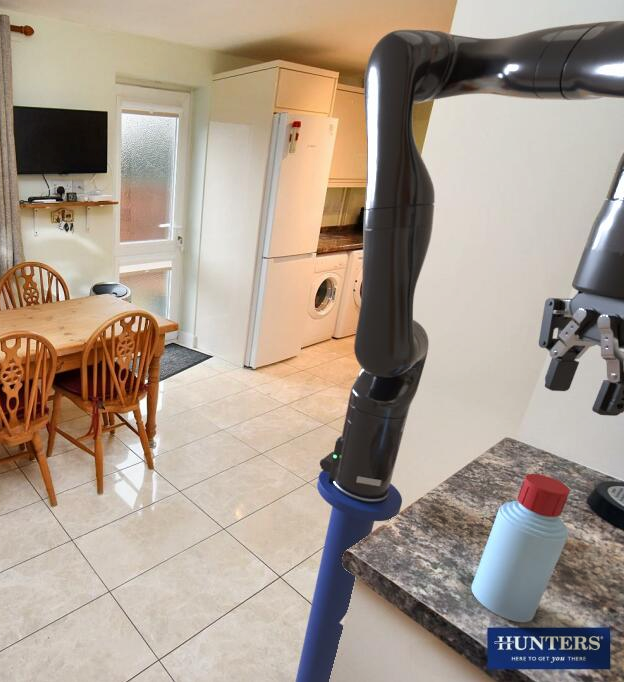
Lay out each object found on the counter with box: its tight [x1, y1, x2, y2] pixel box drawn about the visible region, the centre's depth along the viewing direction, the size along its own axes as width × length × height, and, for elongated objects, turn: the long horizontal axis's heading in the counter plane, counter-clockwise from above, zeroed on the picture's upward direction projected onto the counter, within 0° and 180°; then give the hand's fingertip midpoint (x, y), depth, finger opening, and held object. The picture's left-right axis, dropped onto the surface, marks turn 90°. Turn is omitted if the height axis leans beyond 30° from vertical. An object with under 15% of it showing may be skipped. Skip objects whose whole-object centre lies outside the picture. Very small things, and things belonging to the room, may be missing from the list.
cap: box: [516, 473, 571, 517], centre depth 54 cm, size 4×4×3 cm
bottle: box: [471, 499, 569, 623], centre depth 56 cm, size 6×6×18 cm
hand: (579, 400), depth 50 cm, fingers open, 5 cm apart
